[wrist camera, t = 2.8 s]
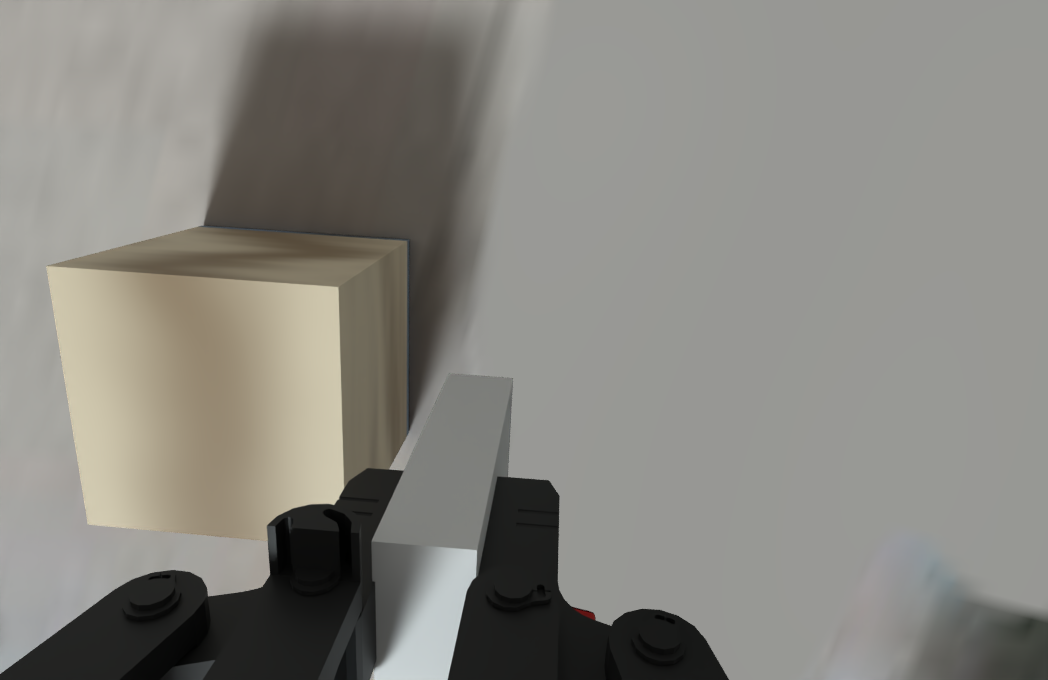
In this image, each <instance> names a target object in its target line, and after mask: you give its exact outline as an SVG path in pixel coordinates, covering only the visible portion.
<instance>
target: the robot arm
mask: <svg viewBox="0 0 1048 680" xmlns="http://www.w3.org/2000/svg"><path fill="white" fill-rule="evenodd" d="M512 387H513V378H504V377H490V376H477V375H463V374H450V373H449V375H448V377H447V379H446V381H445V383H444V385H443V388H442V390H441V392H440V394H439V396H438V398H437V401H436V403H435V405H434V407H433V409H432V411H431V413H430V416H429V418H428V420H427V422H426V424H425V426H424V429H423V431H422V433H421V435H420V437H419V439H418V442H417V444H416V446H415V448H414V450H413V452H412V455H411V457H410V459H409V461H408V463H407V465H406V468H405V470H404V471H399V470H387V469H374V468H367V469H365V470H364V471H362V472H361V473H359V474H358V475H357V476H355V477H354V478H352V479H351V480H349V481H348V483H347V485H346V486H345V488H344V490H343V491H342V493H341V495H340V496H339V500H337V501H336V503H335V505H332V504H310V505H305V506H301V507H297V508H293V509H291V510H288V511H286V512H284V513H282V514H280V515H278V516H277V517H276V518H274V519H273V520H272V521H271V522H270V523H269V524H268V525H267V537H268V550H269V563H270V576H269V578H268V579H267V581H266V582H265V584H264V585H263V587H261V588H258V589H254V590H250V591H245V592H239V593H232V594H224V595H217V596H210V597H208V593H207V587H206V585H205V584H204V582H203V580H202V578H200V577H198V576H196V575H194V574H192V573H191V572H185V571H176V570H170V571H162V572H154V573H150V574H147V575H144V576H141V577H138V578H135V579H132V580H131V581H129V582H127V583H125V584H124V585H122V586H120V587H118V588H117V589H115V590H114V591H112V592H111V593H109V594H108V595H107V596H105V597H104V598H103V599H101V600H100V601H99V602H97V603H96V604H95V605H93V606H92V607H91V608H89V609H88V610H86V611H85V612H84V613H82V614H81V615H80V616H78V617H77V618H76V619H74V620H73V621H72V622H70V623H69V624H67V625H66V626H65V627H63V628H62V629H61V630H59V631H58V632H57V633H55V634H54V635H53V636H51V637H50V638H49V639H47V640H46V641H44V642H43V643H42V644H40V645H39V646H38V647H36V648H35V649H34V650H32V651H31V652H30V653H28V654H27V655H25V656H24V657H23V658H21V659H20V660H19V661H17V662H16V663H15V664H13V665H12V666H11V667H9V668H8V669H6V670H5V671H4V672H2V673H1V674H0V680H370V677H371V674H372V672H373V669H374V680H729V679H728V678H727V676H726V674H725V672H724V670H723V669H722V667H721V665H720V664H719V662H718V660H717V658H716V657H715V655H714V653H713V652H712V650H711V648H710V646H709V645H708V643H707V641H706V640H705V638H704V637H703V636H702V635H701V634H700V632H699V631H698V630H697V629H696V628H695V626H693V625H692V624H690V623H688V622H687V621H685V620H684V619H682V618H680V617H679V616H677V615H674V614H671V613H668V612H665V611H661V610H651V609H639V610H635V611H631V612H627V613H624V614H623V615H622V616H620V617H619V618H618V619H616V620H615V621H614V622H613V624H612V626H610V625H607V624H604V623H601V622H598V621H595V620H593V619H591V618H589V617H586V616H584V615H582V614H581V613H579V612H578V611H576V610H575V609H573V608H572V607H571V606H570V605H569V604H568V603H567V602H566V601H565V600H564V598H563V596H562V594H561V593H560V591H559V587H558V537H559V533H558V532H559V495H558V493H557V492H556V490H555V489H554V487H553V486H552V485H551V483H550V481H548V480H535V479H522V478H511V477H508V462H509V443H510V424H511V406H512Z"/></svg>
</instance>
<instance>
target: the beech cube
mask: <svg viewBox="0 0 1048 680" xmlns="http://www.w3.org/2000/svg"><path fill="white" fill-rule="evenodd" d="M46 267H47V274H48V280H49V286H50V292H51V298H52V305H53V311H54V317H55V323H56V329H57V336H58V342H59V348H60V354H61V360H62V367H63V373H64V379H65V385H66V392H67V398H68V404H69V410H70V416H71V423H72V429H73V435H74V441H75V447H76V454H77V460H78V466H79V472H80V478H81V485H82V491H83V497H84V503H85V510H86V516H87V522H88V525H99V526H109V527H120V528H131V529H142V530H153V531H164V532H175V533H185V534H196V535H207V536H218V537H229V538H240V539H251V540H262V541H268V537H267V525H268V524H269V523H270V522H271V521H272V520H273V519H274V518H276V517H277V516H278V515H280V514H282V513H284V512H286V511H288V510H291V509H293V508H297V507H301V506H305V505H310V504H332V505H335V503H336V501H337V500H339V496H340V495H341V493H342V491H343V490H344V488H345V486H346V485H347V483H348V481H349V480H351V479H352V478H354V477H355V476H357V475H358V474H359V473H361V472H362V471H364V470H365V469H367V468H374V469H387V470H389V468H390V466H391V464H392V463H393V461H394V459H395V457H396V455H397V453H398V452H399V450H400V448H401V446H402V444H403V442H404V441H405V439H406V437H407V435H408V433H409V240H408V239H394V238H379V237H364V236H349V235H335V234H320V233H305V232H290V231H276V230H261V229H246V228H232V227H217V226H199V227H195V228H191V229H187V230H184V231H180V232H176V233H172V234H168V235H164V236H160V237H156V238H153V239H149V240H145V241H141V242H137V243H133V244H129V245H126V246H122V247H118V248H114V249H110V250H106V251H102V252H99V253H95V254H91V255H87V256H83V257H79V258H75V259H72V260H68V261H64V262H60V263H56V264H52V265H48V266H46Z"/></svg>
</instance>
